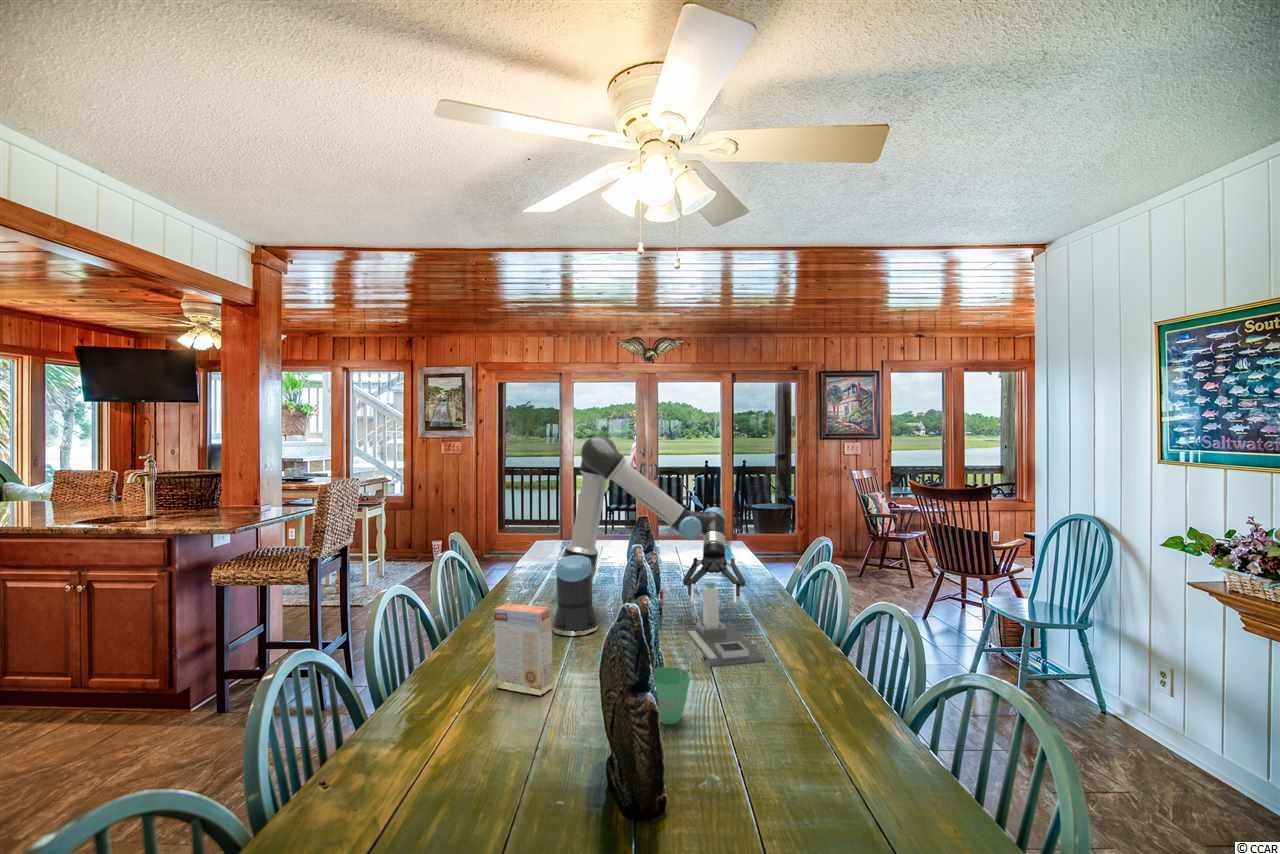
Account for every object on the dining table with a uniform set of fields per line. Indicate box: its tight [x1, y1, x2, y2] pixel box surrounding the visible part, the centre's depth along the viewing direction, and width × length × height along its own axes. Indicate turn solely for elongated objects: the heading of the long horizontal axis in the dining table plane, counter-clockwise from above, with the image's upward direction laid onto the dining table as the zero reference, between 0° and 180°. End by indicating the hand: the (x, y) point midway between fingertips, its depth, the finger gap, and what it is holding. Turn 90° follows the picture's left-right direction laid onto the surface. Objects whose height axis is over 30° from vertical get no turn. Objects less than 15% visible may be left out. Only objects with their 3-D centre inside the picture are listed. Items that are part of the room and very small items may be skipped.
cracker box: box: [493, 602, 554, 690], centre depth 157 cm, size 14×6×21 cm, turn 65°
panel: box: [683, 620, 766, 667], centre depth 184 cm, size 16×30×3 cm, turn 10°
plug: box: [702, 581, 720, 629], centre depth 194 cm, size 4×4×16 cm
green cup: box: [653, 666, 691, 725], centre depth 138 cm, size 15×10×10 cm
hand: (713, 604), depth 195 cm, fingers open, 13 cm apart
